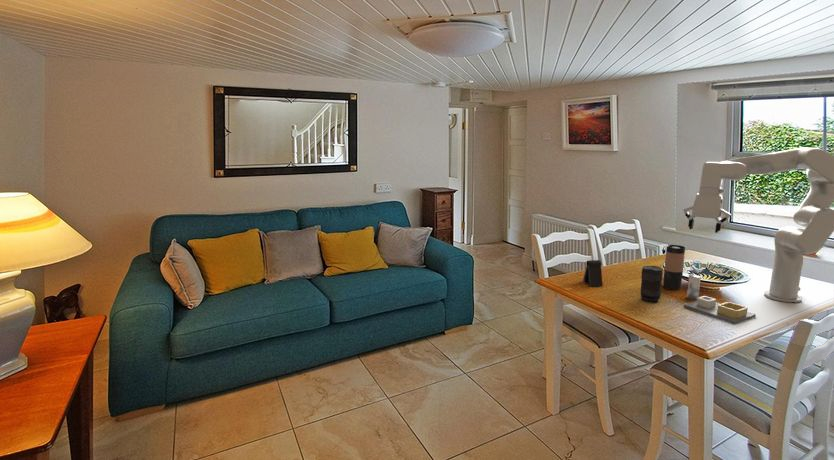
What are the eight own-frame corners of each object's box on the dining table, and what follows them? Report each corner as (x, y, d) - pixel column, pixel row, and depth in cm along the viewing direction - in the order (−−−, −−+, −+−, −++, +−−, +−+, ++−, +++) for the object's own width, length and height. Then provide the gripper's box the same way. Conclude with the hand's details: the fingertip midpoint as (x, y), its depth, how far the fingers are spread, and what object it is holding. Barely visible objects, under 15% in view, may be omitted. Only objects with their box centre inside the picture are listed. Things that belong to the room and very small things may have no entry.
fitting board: (703, 301, 190) (704, 292, 189) (755, 317, 172) (756, 307, 171) (683, 307, 184) (684, 297, 183) (734, 324, 166) (736, 314, 165)
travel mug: (683, 290, 203) (688, 248, 199) (665, 289, 205) (669, 248, 201) (677, 285, 211) (681, 244, 207) (660, 284, 212) (664, 244, 208)
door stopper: (582, 281, 220) (584, 258, 217) (594, 280, 220) (595, 257, 217) (590, 287, 211) (592, 263, 208) (602, 286, 211) (604, 262, 209)
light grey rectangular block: (690, 295, 197) (692, 274, 195) (700, 298, 193) (702, 276, 191) (684, 297, 195) (686, 275, 193) (694, 300, 191) (696, 278, 189)
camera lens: (641, 295, 198) (644, 264, 195) (661, 299, 193) (664, 267, 190) (637, 301, 192) (640, 268, 189) (657, 305, 187) (661, 271, 184)
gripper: (735, 192, 183) (729, 232, 186) (689, 188, 195) (683, 226, 198) (732, 194, 177) (725, 235, 181) (684, 190, 189) (678, 228, 193)
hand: (703, 230), depth 190 cm, fingers open, 9 cm apart
